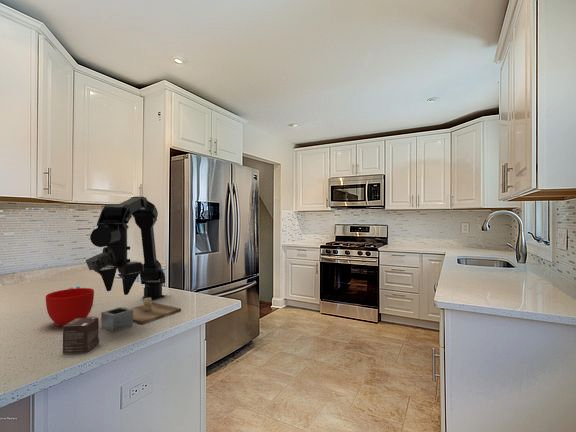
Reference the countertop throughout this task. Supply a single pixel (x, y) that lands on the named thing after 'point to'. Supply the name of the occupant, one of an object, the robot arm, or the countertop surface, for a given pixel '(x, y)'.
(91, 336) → the box
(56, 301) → the ceramic cup
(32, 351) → the countertop surface
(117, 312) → the square tube
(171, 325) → the countertop surface
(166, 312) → the post base
